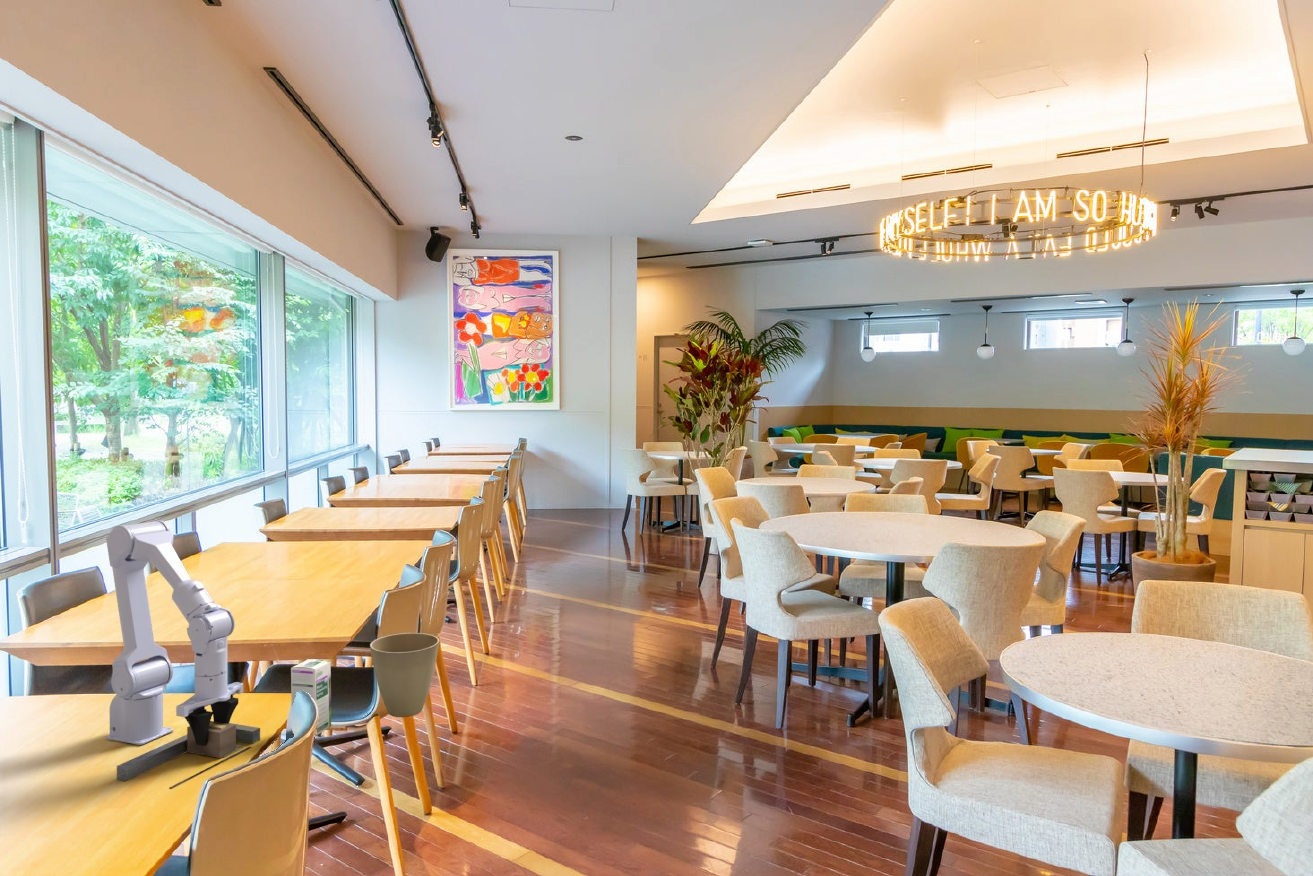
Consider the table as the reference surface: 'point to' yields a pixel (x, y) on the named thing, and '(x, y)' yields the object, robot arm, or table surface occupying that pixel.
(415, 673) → the plant pot
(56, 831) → the table surface
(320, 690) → the syrup box
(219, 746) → the taupe rectangular block
